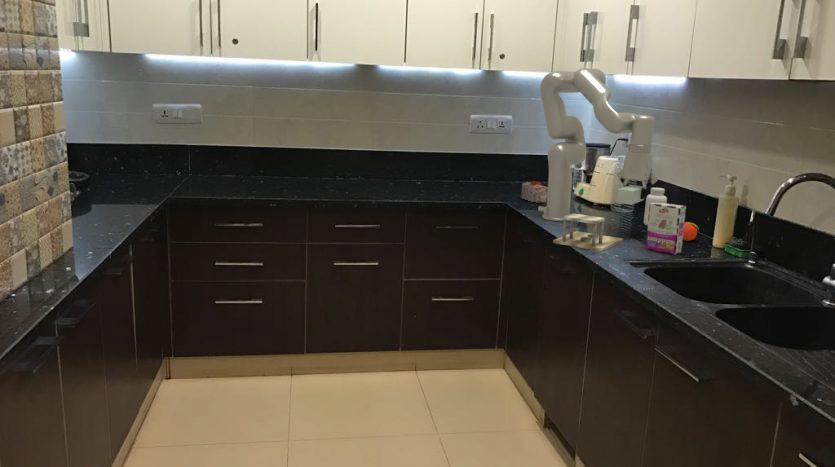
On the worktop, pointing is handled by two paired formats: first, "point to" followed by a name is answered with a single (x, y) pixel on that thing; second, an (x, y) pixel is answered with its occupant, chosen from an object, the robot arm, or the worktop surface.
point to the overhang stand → (586, 234)
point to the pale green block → (629, 194)
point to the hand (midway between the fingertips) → (634, 196)
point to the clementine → (689, 231)
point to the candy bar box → (665, 228)
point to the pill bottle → (654, 200)
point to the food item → (534, 192)
